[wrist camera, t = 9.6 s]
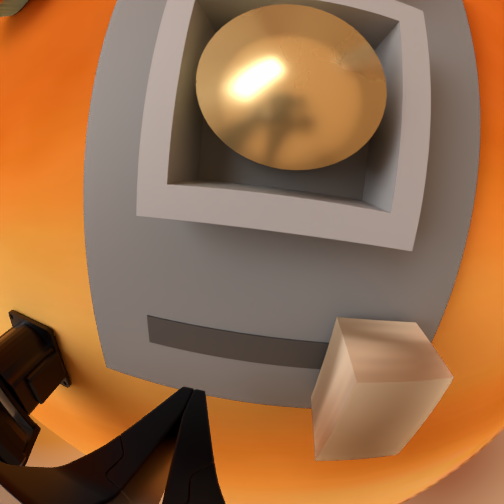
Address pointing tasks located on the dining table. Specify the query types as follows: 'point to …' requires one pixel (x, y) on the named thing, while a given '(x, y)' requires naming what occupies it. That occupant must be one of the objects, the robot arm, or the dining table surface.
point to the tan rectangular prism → (374, 389)
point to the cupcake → (11, 7)
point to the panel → (270, 204)
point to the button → (291, 87)
